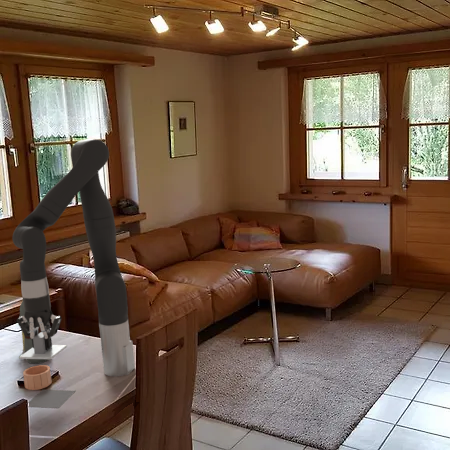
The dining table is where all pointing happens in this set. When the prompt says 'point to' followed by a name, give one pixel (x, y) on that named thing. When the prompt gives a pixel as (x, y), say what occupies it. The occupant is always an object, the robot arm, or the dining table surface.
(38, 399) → the mat
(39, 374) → the bowl
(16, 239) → the robot arm
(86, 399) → the dining table surface
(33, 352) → the block on square base
